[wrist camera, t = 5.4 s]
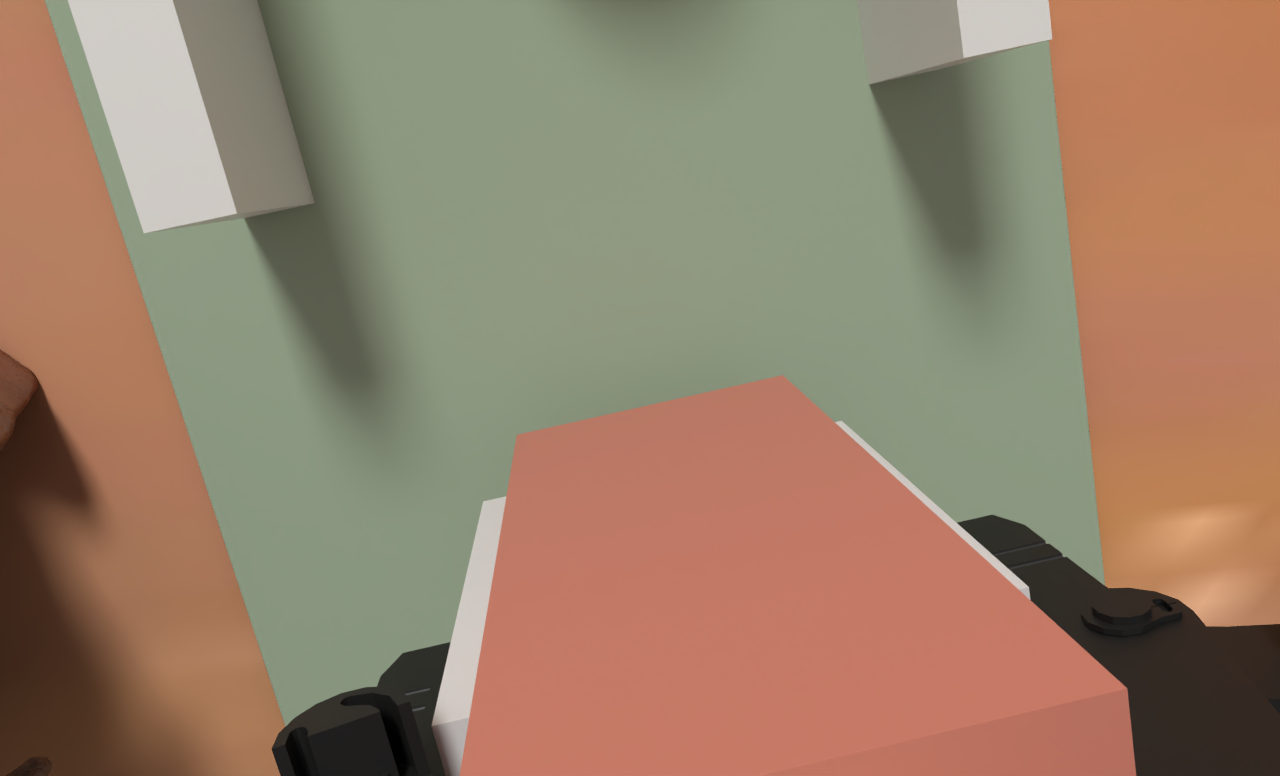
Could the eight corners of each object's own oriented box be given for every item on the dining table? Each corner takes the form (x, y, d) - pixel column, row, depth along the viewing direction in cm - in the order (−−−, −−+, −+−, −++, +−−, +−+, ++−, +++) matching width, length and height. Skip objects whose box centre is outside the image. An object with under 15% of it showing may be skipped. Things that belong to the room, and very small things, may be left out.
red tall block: (577, 677, 17) (614, 1805, 5) (516, 434, 16) (393, 1165, 4) (826, 619, 17) (1404, 1591, 5) (783, 374, 16) (1381, 921, 4)
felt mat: (471, 1273, 22) (470, 1283, 22) (-108, -478, 14) (-117, -488, 14) (1154, 1103, 22) (1159, 1111, 22) (967, -682, 14) (973, -694, 14)
